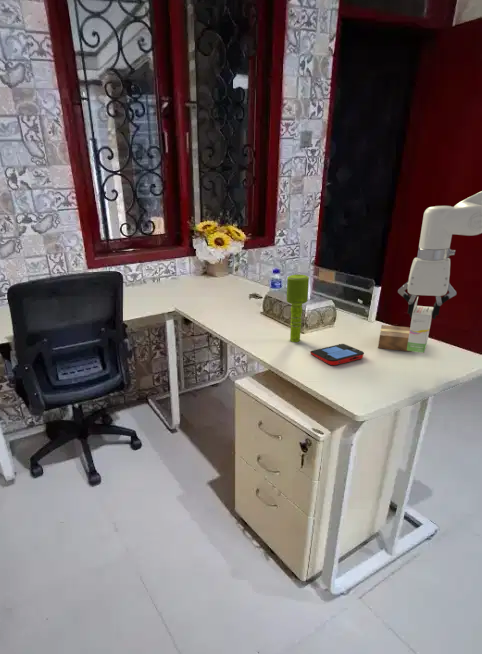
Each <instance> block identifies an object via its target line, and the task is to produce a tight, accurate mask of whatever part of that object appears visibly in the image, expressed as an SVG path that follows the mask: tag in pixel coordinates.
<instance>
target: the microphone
mask: <svg viewBox="0 0 482 654" xmlns="http://www.w3.org/2000/svg"><path fill="white" fill-rule="evenodd" d="M286 279H287V280H286V302H287V303H288V304H291V306H290V314H291V315H290V319H289V320H290V323H289V325H290V334H289V335H290V336H289V337H290V339H289V341H290V342H292V343H298V342H300V341H301V331H302V330H301V329H302V328H301V327H302V322H303V321H302V317H303V316H302V314H303V305H304V304H306V303H307V302H308V299H309V284H310V282H309V281H310V276H308V275H306V274H291V275H289V276H287V278H286Z"/></svg>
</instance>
